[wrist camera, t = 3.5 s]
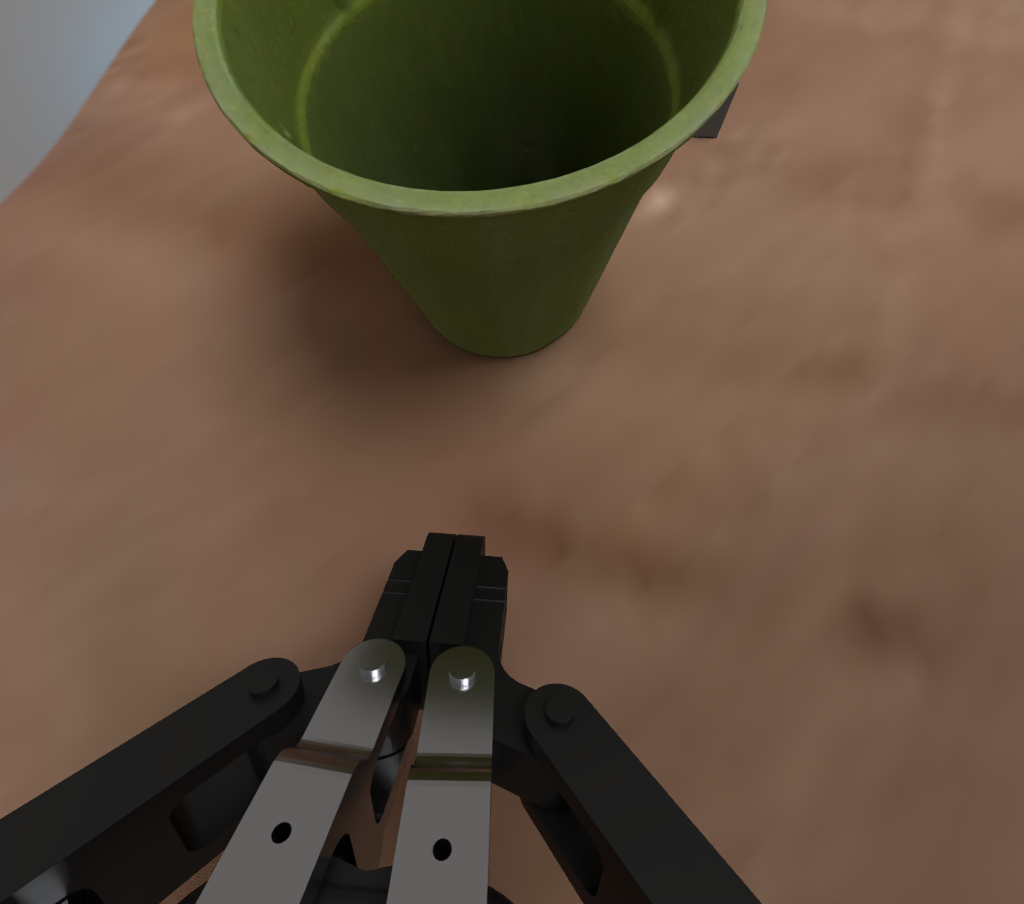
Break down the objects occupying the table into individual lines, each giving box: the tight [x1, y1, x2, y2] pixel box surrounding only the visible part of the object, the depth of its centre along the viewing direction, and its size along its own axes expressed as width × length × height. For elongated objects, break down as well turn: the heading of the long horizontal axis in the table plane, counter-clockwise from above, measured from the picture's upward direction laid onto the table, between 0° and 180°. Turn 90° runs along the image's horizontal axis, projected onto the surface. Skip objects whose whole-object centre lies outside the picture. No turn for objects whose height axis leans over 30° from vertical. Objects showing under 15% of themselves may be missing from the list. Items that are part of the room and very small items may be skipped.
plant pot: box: [193, 0, 768, 357], centre depth 16 cm, size 12×12×11 cm
